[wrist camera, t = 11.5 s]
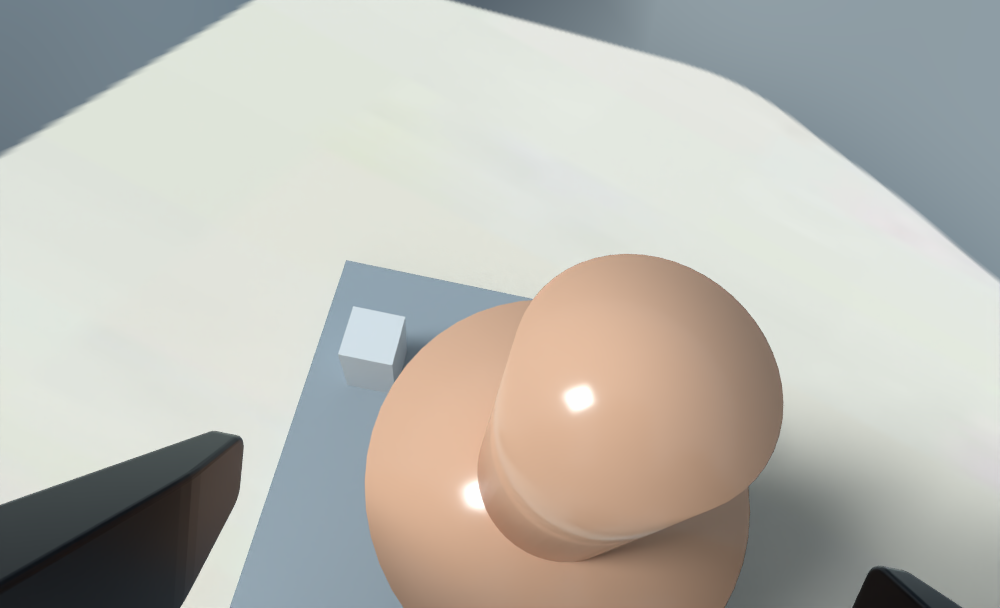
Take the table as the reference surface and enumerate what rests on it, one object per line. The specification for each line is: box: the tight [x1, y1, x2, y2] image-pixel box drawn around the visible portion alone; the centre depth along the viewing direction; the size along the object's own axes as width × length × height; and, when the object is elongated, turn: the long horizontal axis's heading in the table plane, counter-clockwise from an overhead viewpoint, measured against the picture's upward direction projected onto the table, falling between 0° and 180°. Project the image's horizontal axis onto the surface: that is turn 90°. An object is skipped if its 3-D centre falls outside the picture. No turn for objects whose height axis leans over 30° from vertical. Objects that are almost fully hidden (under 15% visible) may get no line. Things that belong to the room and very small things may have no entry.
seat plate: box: [230, 260, 533, 608], centre depth 17 cm, size 16×13×3 cm
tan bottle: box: [365, 254, 783, 608], centre depth 12 cm, size 6×6×14 cm
